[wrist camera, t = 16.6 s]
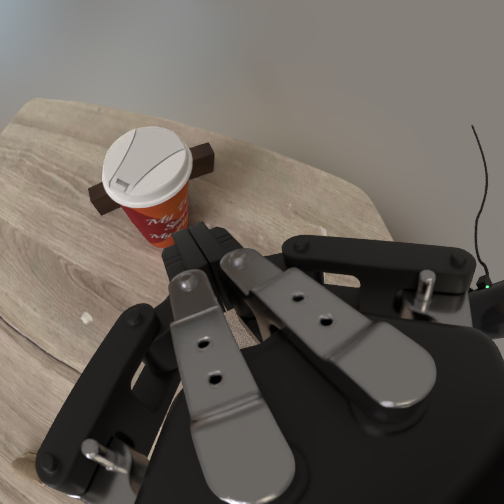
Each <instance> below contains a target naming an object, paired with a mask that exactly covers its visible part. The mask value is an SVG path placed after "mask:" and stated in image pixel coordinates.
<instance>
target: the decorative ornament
mask: <svg viewBox="0 0 504 504" xmlns="http://www.w3.org/2000/svg"><path fill="white" fill-rule="evenodd" d="M35 460H36V454H31V453H26V455H22V457H21V458H17V459H15V460H14V461H13V463H12V471H13V473H14V474H15V475H16V476H18V477H19V478H21V479H24V480H27V481H30V482H35V483H38V484H39V485H40V486H42V487H45V486H46V485H45V484H44V483H43V482H42V481H41V480H40V479H39V477H38V475H37V473H36V469H35Z"/></svg>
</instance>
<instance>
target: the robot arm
mask: <svg viewBox="0 0 504 504" xmlns="http://www.w3.org/2000/svg"><path fill="white" fill-rule="evenodd" d="M472 129H473V131H474V134H475V136H476V139H477V142H478V145H479V148H480V150H481V154H482V158H483V162H484V166H485V173H486V186H485V193H484V198H483V201H482V204H481V208H480V210H479V212H478V215H477V217H476V220H475V233H474V238H475V251H476V255H477V258H478V261H479V263H480V264H481V265H482V266H483V267H484V269H485V272H486V275H484V276H481V277H480V278H479V280H478V281H477V283H476V285H477V287H478V289H475V290H472V291H470V292H468V290H469V287H470V284H471V281H472V278H473V275H474V272H475V268H476V260H475V258H474V257H473V256H472V255H471V254H470V253H469V252H467V251H465V250H463V249H460V248H454V247H444V246H434V245H423V244H414V243H403V242H391V241H380V240H368V239H356V238H343V237H329V236H316V235H298V236H294V237H291V238H289V239H288V240H286V241H285V242H284V243H283V245H282V252H283V253H279V254H274V255H269V256H262V255H261V254H260V253H258V252H257V251H256V250H254V249H250V248H243V247H242V246H241V245H240V244H239V243H238V242H237V240H236V239H235V238H233V236H232V235H231V234H230V233H229V232H228V231H227V230H226V229H224V228H221V227H214V228H212V229H210V230H209V229H208V228H207V226H206V225H205V224H204V223H203V221H201V222H199V223H196V224H194V225H191V226H189V227H187V228H184V229H182V230H179V231H177V232H174V233H172V234H171V235H172V237H173V240H174V243H175V244H173V245H171V246H169V247H166V248H164V250H163V253H162V259H163V262H164V265H165V268H166V271H167V275H168V278H169V281H170V283H169V286H168V290H169V296H168V297H167V298H166V299H165V300H164V301H163V302H162V303H161V304H160V305H158V306H157V307H155V308H154V309H153V307H152V306H151V305H149V304H145V303H141V304H137V305H134V306H132V307H130V308H128V309H127V310H125V311H124V312H123V313H122V314H121V316H120V317H119V318H118V320H117V321H116V323H115V324H114V326H113V327H112V328H111V330H110V331H109V333H108V334H107V336H106V337H105V339H104V340H103V342H102V343H101V345H100V346H99V348H98V349H97V351H96V352H95V354H94V355H93V357H92V358H91V360H90V362H89V363H88V365H87V366H86V368H85V369H84V371H83V373H82V374H81V376H80V378H79V379H78V381H77V382H76V384H75V386H74V387H73V389H72V391H71V392H70V394H69V396H68V397H67V399H66V401H65V403H64V404H63V406H62V408H61V410H60V411H59V413H58V415H57V417H56V418H55V420H54V422H53V424H52V426H51V428H50V429H49V431H48V433H47V435H46V437H45V439H44V441H43V443H42V445H41V447H40V449H39V451H38V453H37V455H36V460H35V469H36V473H37V475H38V477H39V479H40V480H41V481H42V482H43V483H44V484H45V485H47V486H49V487H51V488H54V489H56V490H58V491H61V492H63V493H65V494H66V495H68V496H70V497H73V498H76V499H79V500H81V501H83V502H84V503H86V504H504V360H503V358H502V356H501V353H500V352H499V349H498V347H497V346H496V344H495V343H494V342H493V341H492V339H498V338H504V280H503V281H500V282H497V283H494V284H492V282H491V280H490V278H489V272H488V269H487V266H486V265H485V263H484V262H482V260H481V259H480V256H479V252H478V246H477V226H478V219H479V217H480V214H481V212H482V210H483V206H484V203H485V199H486V195H487V187H488V174H487V167H486V162H485V158H484V154H483V151H482V148H481V145H480V142H479V140H478V137H477V134H476V132H475V130H474V127H473V126H472ZM187 229H188V230H187ZM324 272H326V273H334V274H343V275H351V276H354V277H356V278H357V279H358V280H359V281H360V287H359V288H354V287H346V286H338V285H330V284H324ZM223 304H224V305H223ZM224 306H225V308H226V309H227V311H228V310H231V309H233V308H234V309H235V311H236V313H237V316H238V319H239V321H240V323H241V324H242V326H243V327H244V328H245V329H246V331H247V332H248V333H249V334H250V335H251V337H252V338H253V339H254V340H255V342H256V343H257V344H258V345H254V346H251V347H247V348H243V349H239V347H238V345H237V342H236V340H235V338H234V336H233V334H232V331H231V329H230V327H229V325H228V322H227V320H226V318H225V316H224V312H226V311H225V308H224ZM142 361H143V363H144V364H145V366H144V368H143V370H142V372H141V374H140V375H139V377H138V379H137V381H136V383H135V385H134V387H133V389H132V391H131V381H132V378H133V376H134V375H135V373H136V371H137V369H138V367H139V365H140V364H141V362H142ZM180 381H182V385H183V389H182V390H181V391H180V392H179V393H178V395H177V396H176V397H175V399H174V401H173V403H172V405H171V407H170V409H169V412H168V414H167V417H166V419H165V422H164V425H163V427H162V430H161V432H160V435H159V438H158V440H157V443H156V445H155V448H154V451H153V453H152V456H151V459H150V461H149V460H148V458H147V457H148V455H149V453H150V450H151V448H152V445H153V443H154V441H155V438H156V436H157V434H158V431H159V429H160V427H161V425H162V422H163V420H164V418H165V415H166V413H167V411H168V408H169V406H170V404H171V402H172V399H173V397H174V395H175V392H176V390H177V388H178V386H179V383H180Z"/></svg>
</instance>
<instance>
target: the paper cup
mask: <svg viewBox="0 0 504 504" xmlns="http://www.w3.org/2000/svg"><path fill="white" fill-rule="evenodd" d="M192 161H193V160H192V154H191V152H190V149H189V148H188V146H187V144H186V143H185V142H184V141H183V140H182V139H181V138H180V136H179V135H178V134H177V133H176V132H174V131H172V130H169V129H166V128H163V127H157V126H148V127H142V128H137V129H133V130H131V131H129V132H127V133H125V134H124V135H122V136H121V137H120V138H118V139H117V140H116V141H115V142H114V143H113V144H112V146H111V147H110V148H109V150H108V152H107V154H106V156H105V159H104V163H103V172H102V181H103V186H104V188H105V191H106V192H107V194H108V195H109V196H110V197H111V198H112V199H113V200H114V201H115V202H117V203H119V204H120V205H121V207H122V208H123V210H124V211H125V213H126V214H127V215H128V217H129V218H130V220H131V221H132V222H133V224H134V225H135V226H136V227H137V228H138V229H139V231H140V232H141V233H142V234H143V236H144V237H145V238H146V239H147V240H148V241H149V242H150V243H151V244H153V245H154V246H157V247H161V248H166V247H169V246H171V245H173V244H175V243H174V240H173V237H172V235H171V234H172V233H174V232H177V231H179V230H182V229H184V228H187V227H188V179H189V176H190V174H191V170H192Z"/></svg>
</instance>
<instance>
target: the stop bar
mask: <svg viewBox="0 0 504 504" xmlns="http://www.w3.org/2000/svg"><path fill="white" fill-rule="evenodd" d="M189 149H190V152H191V154H192V160H193V161H192V170H191V174H190V176H189V179H192V178H195V177H198V176H201V175H204V174H207V173H209V172H212V171H213V168H214V151H213V150H212V148H211V146H210V144H209V142H208V143H205V144H201V145H198V146H195V147H192V148H189ZM189 179H188V180H189ZM88 191H89V196H90V201H91V203H92V204H93V205H94V207H95V208H96V209H97V211H98V212H99V213H100V214H101V215H103V214H106V213H108V212H110V211H112V210H114V209H117V208H119V207H121V205H120V204H119V203H117V202H115V201H114V200H113V199H112V198H111V197H110V196H109V195H108V194H107V192H106V191H105V188H104V186H103V182H101V183H99V184H97V185H95V186H92V187H90V188H88Z"/></svg>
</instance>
